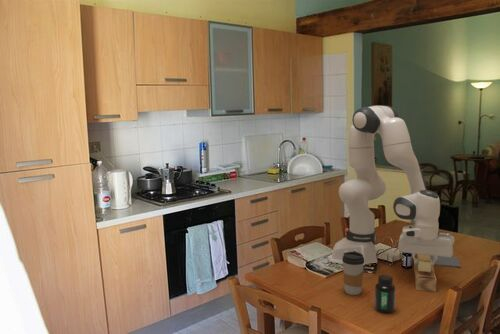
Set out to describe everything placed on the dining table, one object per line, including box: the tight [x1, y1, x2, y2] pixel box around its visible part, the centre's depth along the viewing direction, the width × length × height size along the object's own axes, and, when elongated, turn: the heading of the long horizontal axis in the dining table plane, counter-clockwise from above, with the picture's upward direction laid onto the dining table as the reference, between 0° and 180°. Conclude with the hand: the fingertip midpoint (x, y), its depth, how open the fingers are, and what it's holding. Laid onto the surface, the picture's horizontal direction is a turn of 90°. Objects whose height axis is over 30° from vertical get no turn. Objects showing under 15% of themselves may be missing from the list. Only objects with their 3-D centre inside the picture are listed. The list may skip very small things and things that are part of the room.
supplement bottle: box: [374, 274, 396, 314], centre depth 150 cm, size 7×7×12 cm
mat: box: [430, 255, 462, 269], centre depth 193 cm, size 12×12×1 cm
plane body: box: [413, 263, 437, 293], centre depth 173 cm, size 7×20×8 cm, turn 162°
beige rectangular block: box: [416, 254, 431, 272], centre depth 170 cm, size 4×9×4 cm, turn 162°
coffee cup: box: [342, 252, 364, 296], centre depth 164 cm, size 8×8×15 cm
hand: (423, 264), depth 170 cm, fingers closed on beige rectangular block, 4 cm apart
